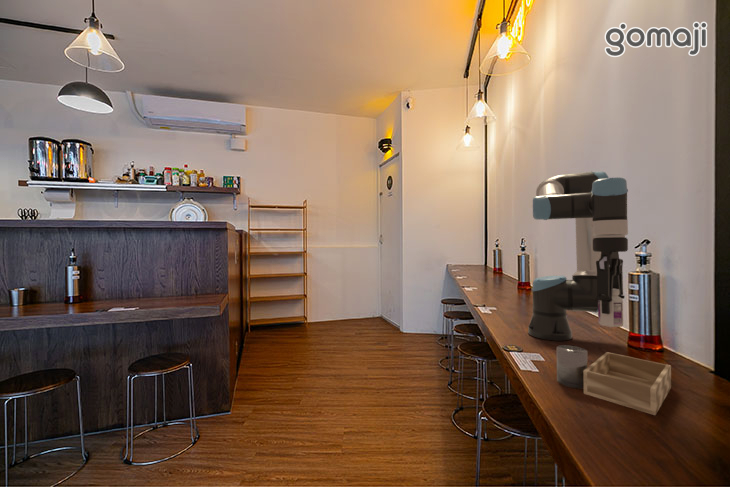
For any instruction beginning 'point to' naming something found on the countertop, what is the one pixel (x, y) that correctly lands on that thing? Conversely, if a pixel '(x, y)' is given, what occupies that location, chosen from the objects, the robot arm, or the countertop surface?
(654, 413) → the caddy
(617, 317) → the pill bottle
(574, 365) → the tin can
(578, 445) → the countertop surface
